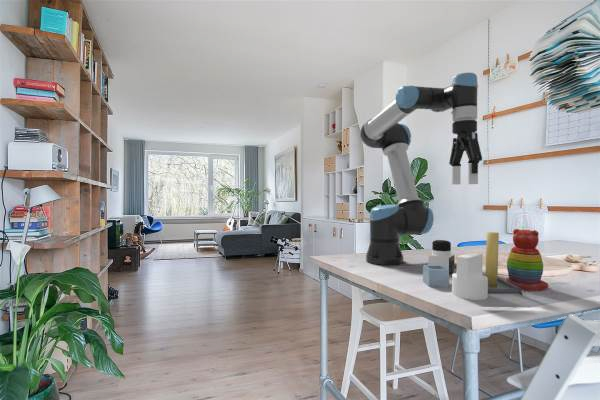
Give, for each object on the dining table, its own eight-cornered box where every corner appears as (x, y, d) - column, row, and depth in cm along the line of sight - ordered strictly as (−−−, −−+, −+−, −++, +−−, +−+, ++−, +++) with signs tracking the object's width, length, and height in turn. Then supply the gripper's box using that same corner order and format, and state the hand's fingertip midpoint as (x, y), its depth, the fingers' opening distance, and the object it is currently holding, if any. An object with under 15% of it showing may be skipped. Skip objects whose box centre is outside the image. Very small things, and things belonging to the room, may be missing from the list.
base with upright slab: (462, 290, 103) (462, 250, 103) (493, 298, 96) (494, 255, 96) (445, 296, 98) (445, 254, 97) (477, 305, 91) (478, 259, 90)
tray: (464, 281, 112) (464, 275, 112) (496, 282, 112) (496, 276, 112) (485, 295, 98) (485, 288, 98) (521, 295, 98) (521, 288, 98)
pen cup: (422, 283, 111) (422, 265, 111) (441, 283, 111) (441, 265, 110) (428, 289, 105) (428, 269, 105) (448, 289, 105) (449, 269, 105)
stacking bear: (550, 287, 106) (551, 229, 105) (541, 294, 99) (542, 232, 98) (510, 280, 114) (511, 226, 113) (499, 286, 107) (500, 229, 106)
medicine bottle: (449, 277, 117) (449, 242, 117) (427, 274, 122) (428, 241, 121) (454, 273, 123) (454, 240, 123) (434, 270, 127) (434, 238, 127)
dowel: (493, 283, 107) (495, 232, 106) (499, 286, 103) (501, 233, 103) (483, 283, 107) (484, 231, 106) (488, 286, 104) (490, 233, 103)
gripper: (440, 127, 129) (439, 184, 130) (469, 113, 104) (468, 184, 105) (460, 127, 128) (460, 184, 129) (494, 113, 103) (494, 183, 104)
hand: (464, 184), depth 117 cm, fingers open, 13 cm apart
